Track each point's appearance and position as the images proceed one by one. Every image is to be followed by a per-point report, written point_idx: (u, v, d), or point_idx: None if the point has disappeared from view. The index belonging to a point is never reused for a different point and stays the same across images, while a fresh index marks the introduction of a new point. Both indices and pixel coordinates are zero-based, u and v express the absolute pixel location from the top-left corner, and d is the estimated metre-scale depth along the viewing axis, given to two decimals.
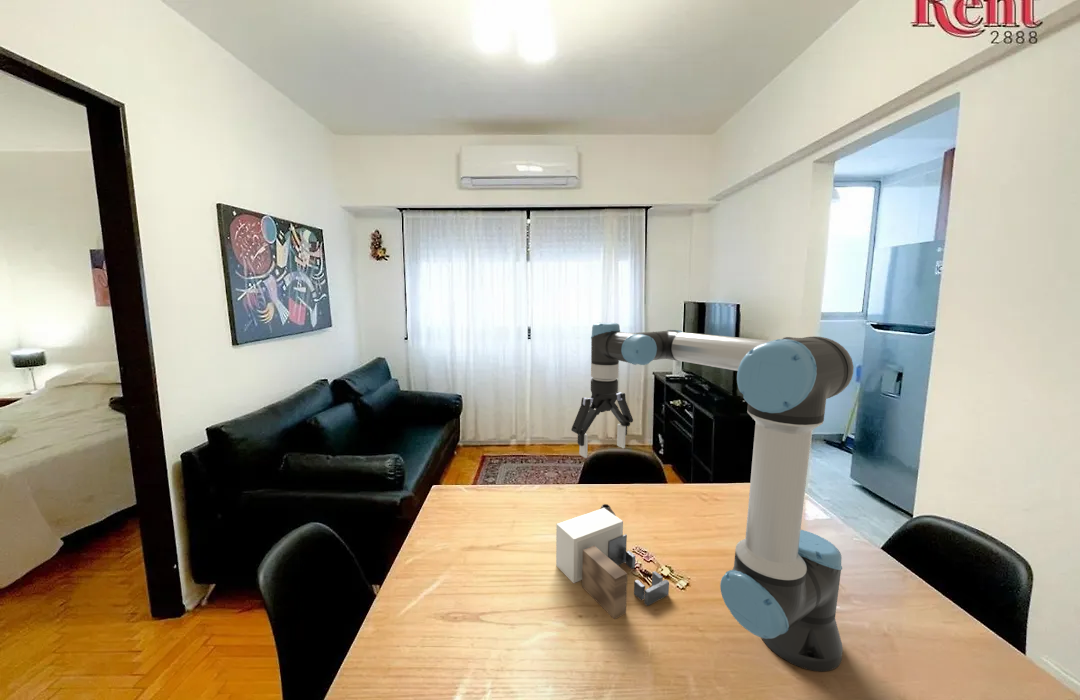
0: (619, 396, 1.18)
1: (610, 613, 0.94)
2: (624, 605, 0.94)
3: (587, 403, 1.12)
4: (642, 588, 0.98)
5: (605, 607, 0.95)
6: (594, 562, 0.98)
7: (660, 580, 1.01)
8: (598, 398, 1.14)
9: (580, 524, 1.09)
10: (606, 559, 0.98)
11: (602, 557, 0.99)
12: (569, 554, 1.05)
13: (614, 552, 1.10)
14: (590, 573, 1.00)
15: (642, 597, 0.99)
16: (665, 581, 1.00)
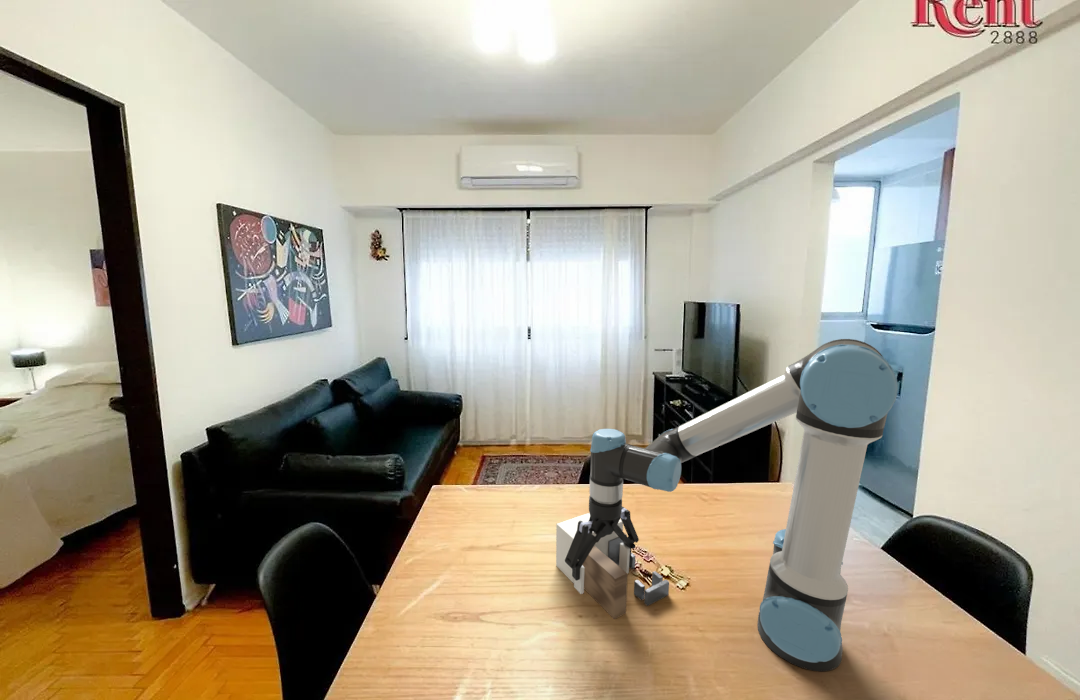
0: (623, 514, 0.98)
1: (610, 613, 0.94)
2: (624, 605, 0.94)
3: (584, 531, 0.92)
4: (642, 588, 0.98)
5: (605, 607, 0.95)
6: (594, 562, 0.98)
7: (660, 580, 1.01)
8: (598, 522, 0.94)
9: None
10: (606, 559, 0.98)
11: (602, 557, 0.99)
12: None
13: (614, 552, 1.10)
14: (591, 573, 1.00)
15: (642, 597, 0.99)
16: (665, 581, 1.00)
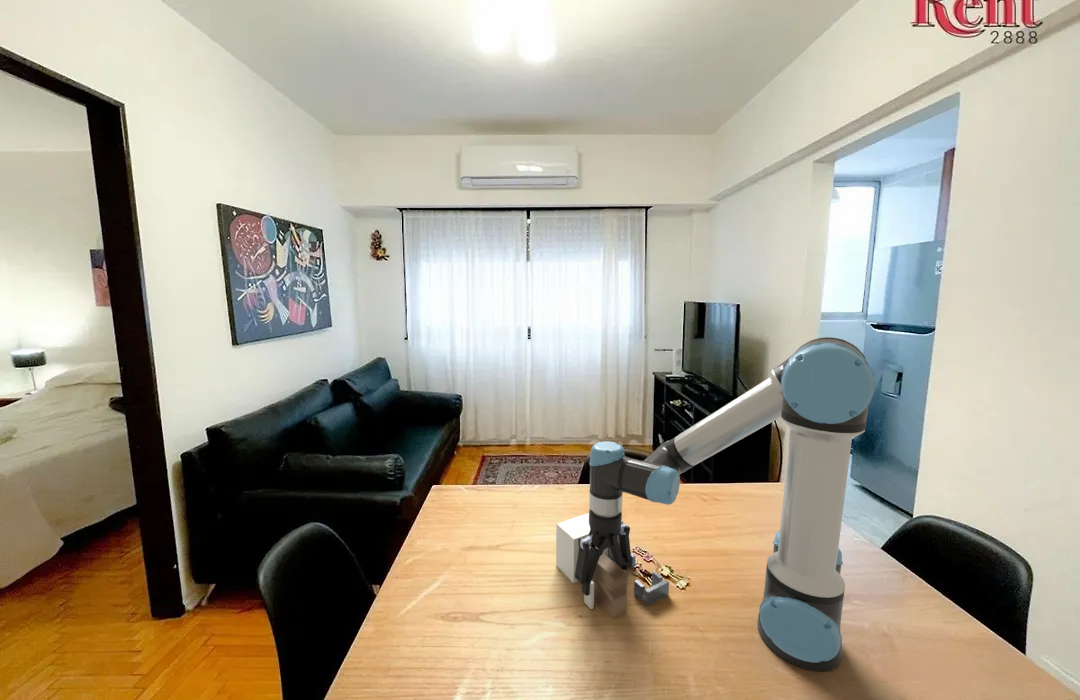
0: (622, 529, 0.99)
1: (610, 613, 0.94)
2: (624, 605, 0.94)
3: (585, 548, 0.92)
4: (642, 588, 0.98)
5: (605, 607, 0.95)
6: None
7: (660, 580, 1.01)
8: (597, 535, 0.94)
9: (580, 524, 1.09)
10: (606, 559, 0.98)
11: (602, 557, 0.99)
12: (569, 554, 1.05)
13: None
14: None
15: (642, 597, 0.99)
16: (665, 581, 1.00)
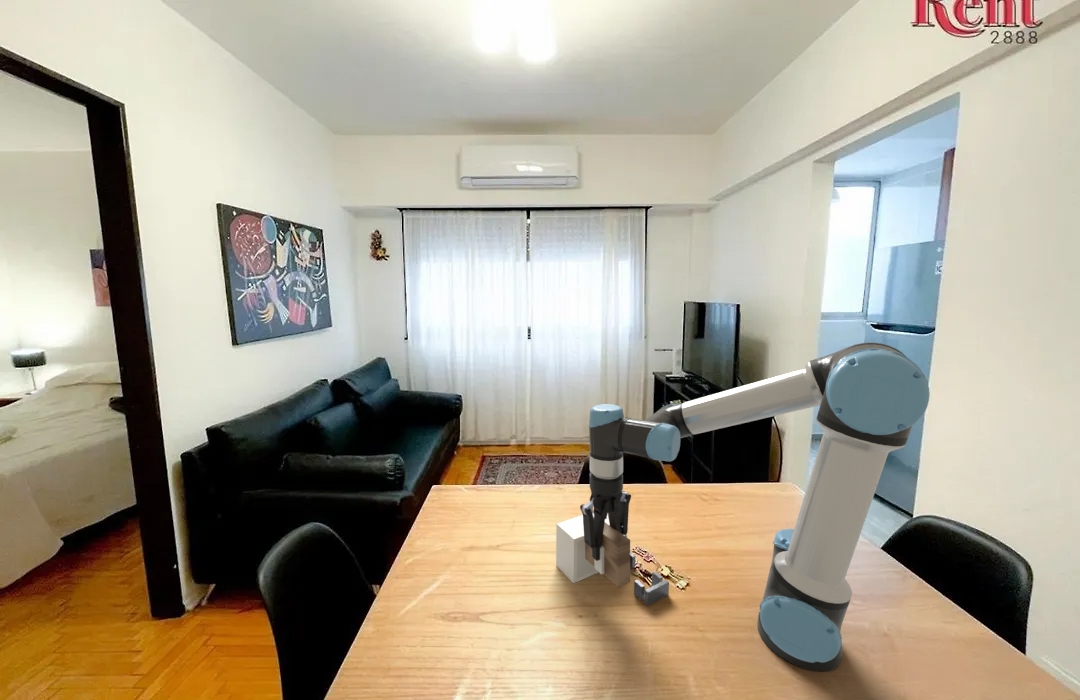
0: (623, 496, 0.97)
1: (614, 581, 0.92)
2: (628, 573, 0.93)
3: (588, 514, 0.91)
4: (642, 588, 0.98)
5: (609, 576, 0.94)
6: None
7: (660, 580, 1.01)
8: (598, 499, 0.93)
9: (580, 524, 1.09)
10: (609, 528, 0.97)
11: (604, 526, 0.97)
12: (569, 554, 1.05)
13: None
14: None
15: (642, 597, 0.99)
16: (665, 581, 1.00)
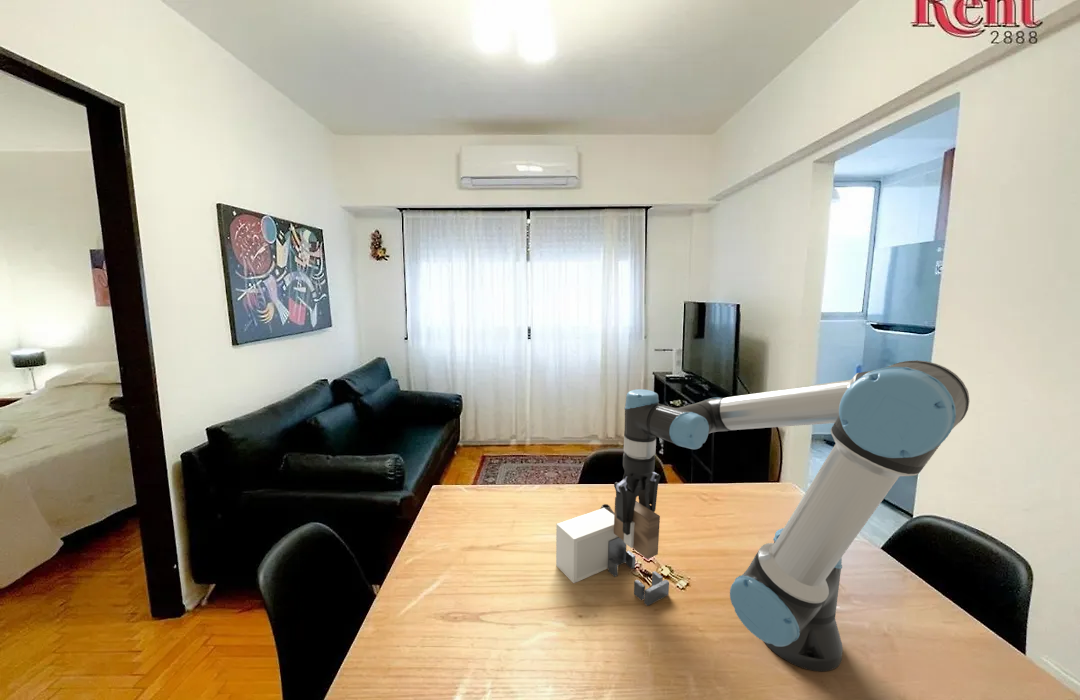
0: (653, 476, 1.04)
1: (643, 554, 0.99)
2: (656, 546, 0.99)
3: (622, 491, 0.98)
4: (642, 588, 0.98)
5: (638, 549, 1.01)
6: None
7: (660, 580, 1.01)
8: (631, 477, 0.99)
9: (580, 524, 1.09)
10: (638, 505, 1.03)
11: None
12: (569, 554, 1.05)
13: (614, 552, 1.10)
14: None
15: (642, 597, 0.99)
16: (665, 581, 1.00)
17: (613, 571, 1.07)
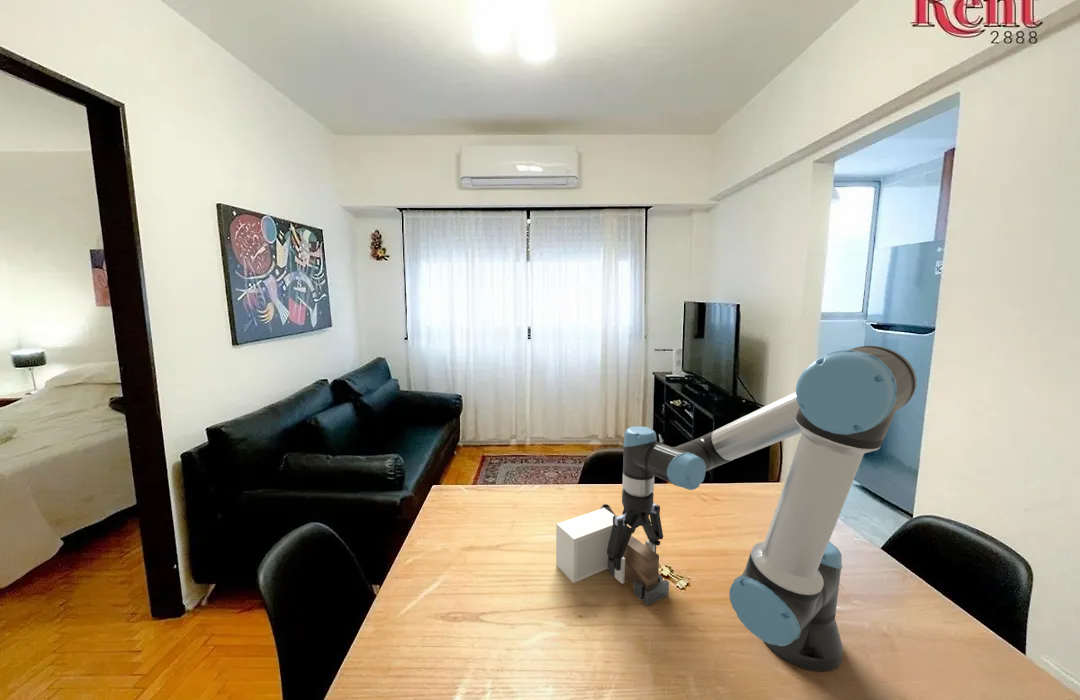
0: (653, 508, 1.05)
1: None
2: None
3: (620, 525, 0.99)
4: (642, 588, 0.98)
5: None
6: (627, 545, 1.04)
7: (660, 580, 1.01)
8: (631, 514, 1.00)
9: (580, 524, 1.09)
10: (638, 543, 1.05)
11: (634, 541, 1.05)
12: (569, 554, 1.05)
13: None
14: (623, 556, 1.06)
15: (642, 597, 0.99)
16: (665, 581, 1.00)
17: (613, 571, 1.07)
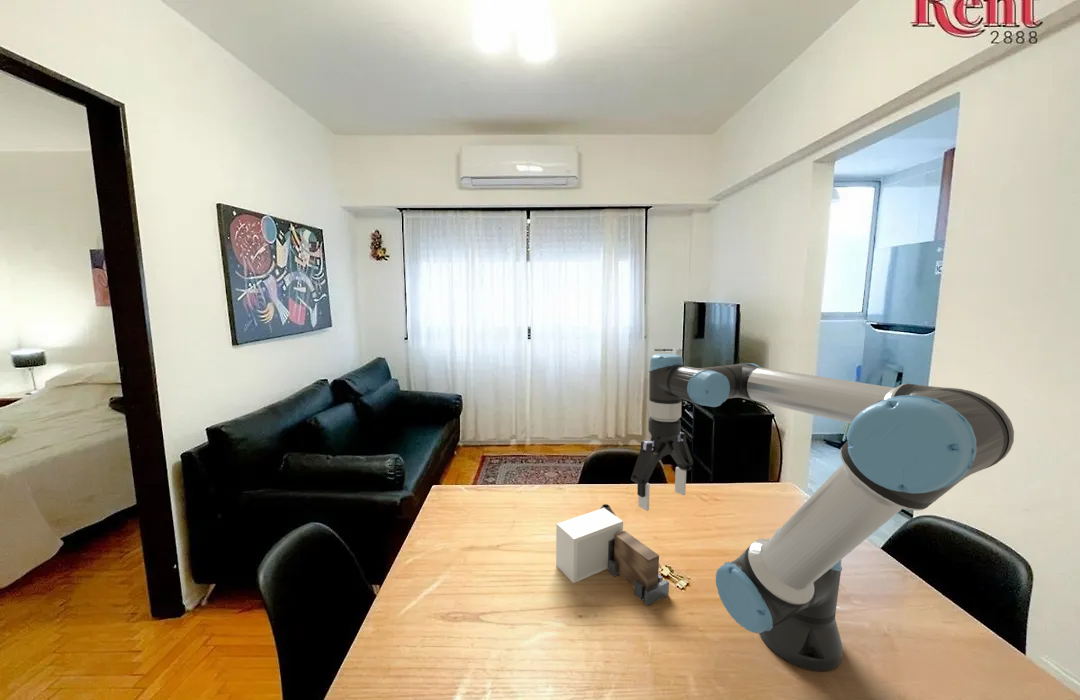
0: (679, 436, 1.04)
1: None
2: None
3: (649, 448, 0.97)
4: (642, 588, 0.98)
5: None
6: (627, 545, 1.04)
7: (660, 580, 1.01)
8: (660, 441, 0.99)
9: (580, 524, 1.09)
10: (638, 543, 1.05)
11: (634, 541, 1.05)
12: (569, 554, 1.05)
13: None
14: (623, 556, 1.06)
15: (642, 597, 0.99)
16: (665, 581, 1.00)
17: (613, 571, 1.07)
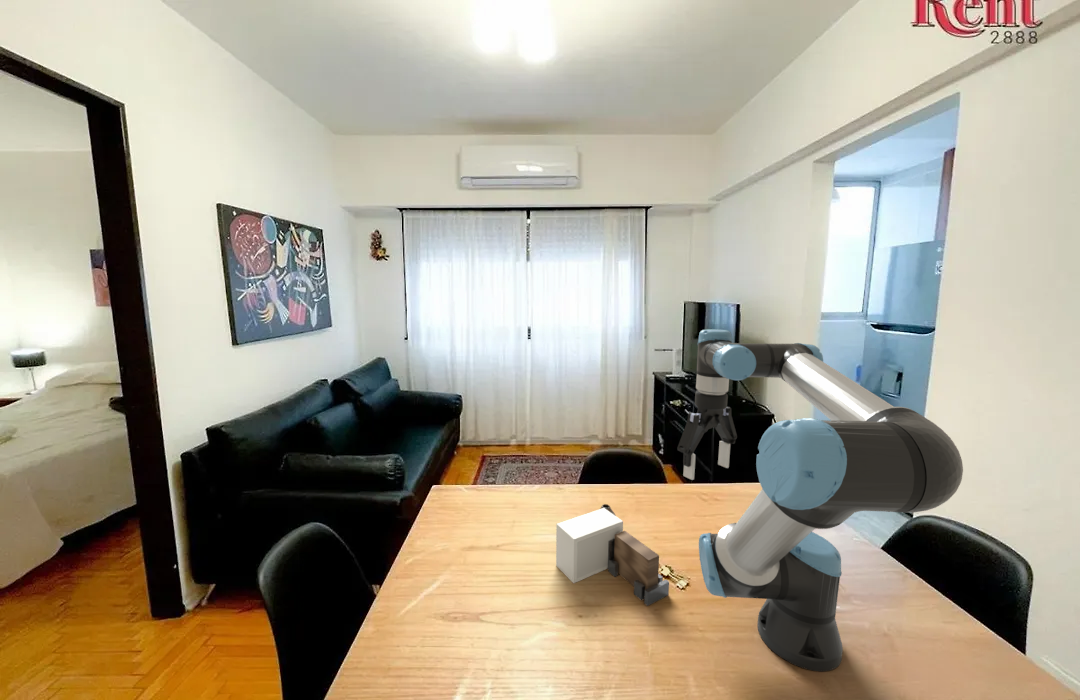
0: (724, 411, 1.07)
1: None
2: None
3: (696, 419, 1.00)
4: (642, 588, 0.98)
5: None
6: (627, 545, 1.04)
7: (660, 580, 1.01)
8: (706, 414, 1.02)
9: (580, 524, 1.09)
10: (638, 543, 1.05)
11: (634, 541, 1.05)
12: (569, 554, 1.05)
13: None
14: (623, 556, 1.06)
15: (642, 597, 0.99)
16: (665, 581, 1.00)
17: (613, 571, 1.07)
